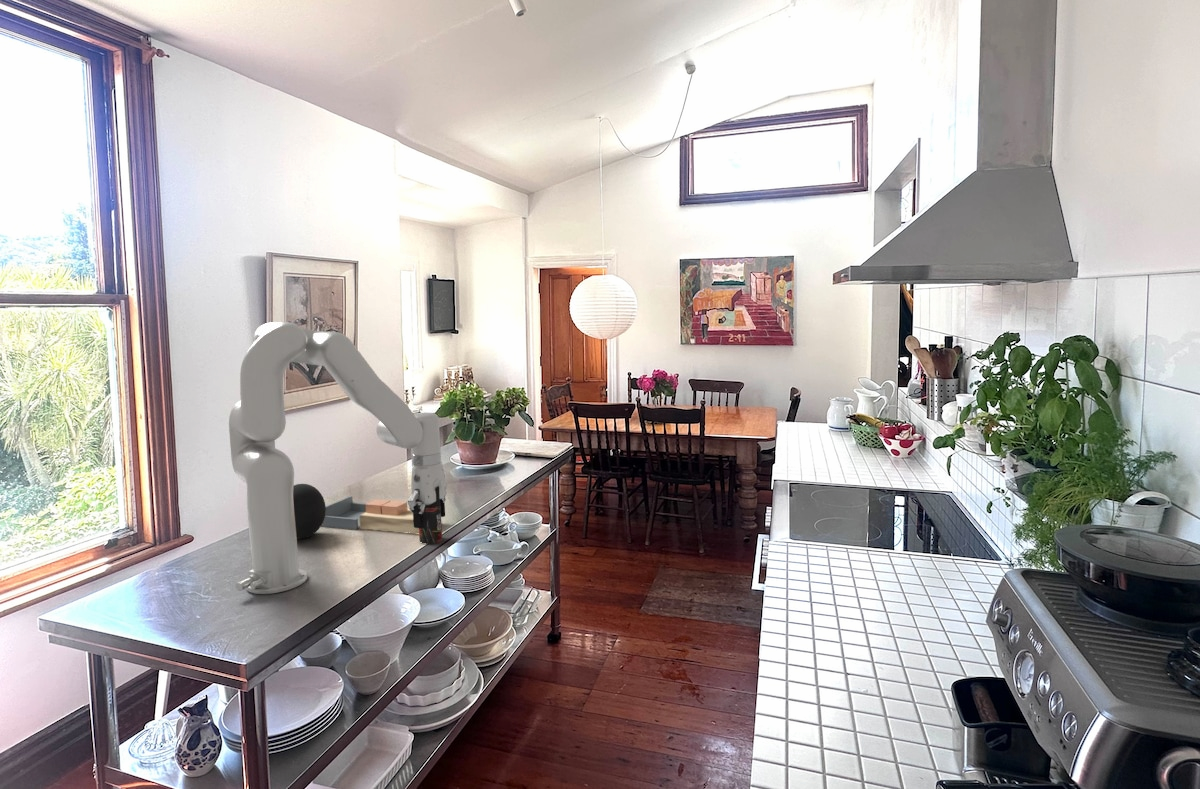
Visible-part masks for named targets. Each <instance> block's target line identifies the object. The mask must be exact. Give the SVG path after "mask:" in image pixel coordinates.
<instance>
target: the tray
mask: <svg viewBox="0 0 1200 789" xmlns="http://www.w3.org/2000/svg"><path fill="white" fill-rule="evenodd" d="M365 504H367V503H366V502H365V503H364V502H363V503H362V502H355V501H353V495H350V496H346V497H344V498H342V499H339V500H336V501H335V502H332V503H330V504H327V505H325V506H326V513H325V518H324V521H323V523H322V525H321V527H324V526H325V527H327V528H334V527H338V529H344V528H348V529H347V530H354V529H357V530H359V529H360V515H361V514H363V513H365V512H366V505H365ZM325 527H324V528H325ZM358 528H359V529H358Z"/></svg>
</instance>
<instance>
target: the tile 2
mask: <svg viewBox="0 0 1200 789" xmlns="http://www.w3.org/2000/svg"><path fill="white" fill-rule="evenodd" d="M390 501H391V502H388V503H386V504H384V505H382V514H386V515H399V514H401V513H403V512H405V511H407V507H408V501H402V500H401V501H400V500H399V501H398V500H390Z"/></svg>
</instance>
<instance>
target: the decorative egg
mask: <svg viewBox="0 0 1200 789" xmlns="http://www.w3.org/2000/svg"><path fill="white" fill-rule="evenodd" d="M293 501H294V514H295V525H296V537H297V539H306V538H309V537H311V536H312V535H314V534H315V533H317V532H318V530H319V529H320V528H321V527H322V526H321V525H322V523H323V521H324V518H325V513H326V506H327V505H326V502H325V499H324V496H323V494H322V493H321V492H320V491H319V490H318V489H317V488H316V487H315V486H313V485H310V484H309V483H296V484H294V487H293Z"/></svg>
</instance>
